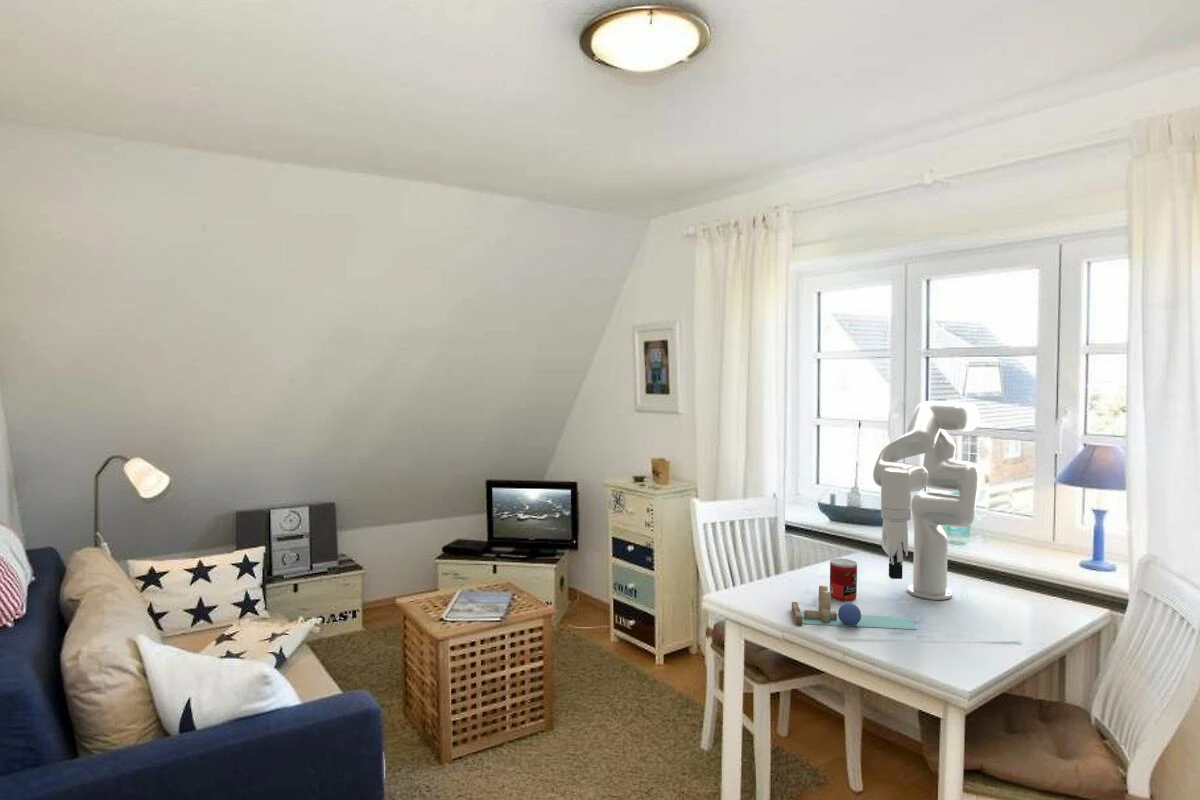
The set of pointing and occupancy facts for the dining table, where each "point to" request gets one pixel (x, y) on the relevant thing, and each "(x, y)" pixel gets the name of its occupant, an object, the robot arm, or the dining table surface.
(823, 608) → the pin
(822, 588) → the pin
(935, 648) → the dining table surface
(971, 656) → the dining table surface
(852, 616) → the ball
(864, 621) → the panel
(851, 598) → the canned food
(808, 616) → the pin front
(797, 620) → the block
